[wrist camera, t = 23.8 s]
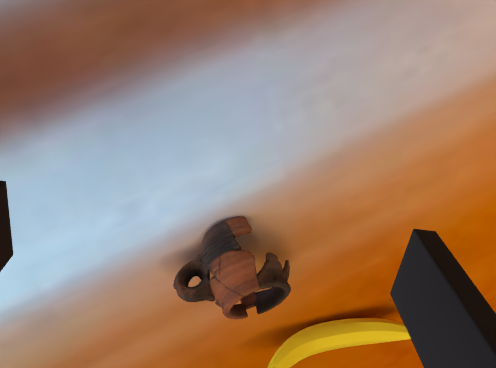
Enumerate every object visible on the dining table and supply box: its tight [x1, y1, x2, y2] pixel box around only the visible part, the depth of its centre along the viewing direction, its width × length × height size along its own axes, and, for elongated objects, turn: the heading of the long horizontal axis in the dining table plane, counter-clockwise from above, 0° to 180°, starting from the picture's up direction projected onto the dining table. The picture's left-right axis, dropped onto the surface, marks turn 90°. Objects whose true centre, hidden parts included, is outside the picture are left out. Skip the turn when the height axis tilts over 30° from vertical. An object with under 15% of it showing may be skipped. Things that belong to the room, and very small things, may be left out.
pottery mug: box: [173, 217, 291, 319], centre depth 48 cm, size 12×10×8 cm
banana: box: [268, 318, 411, 368], centre depth 52 cm, size 3×19×6 cm, turn 107°
